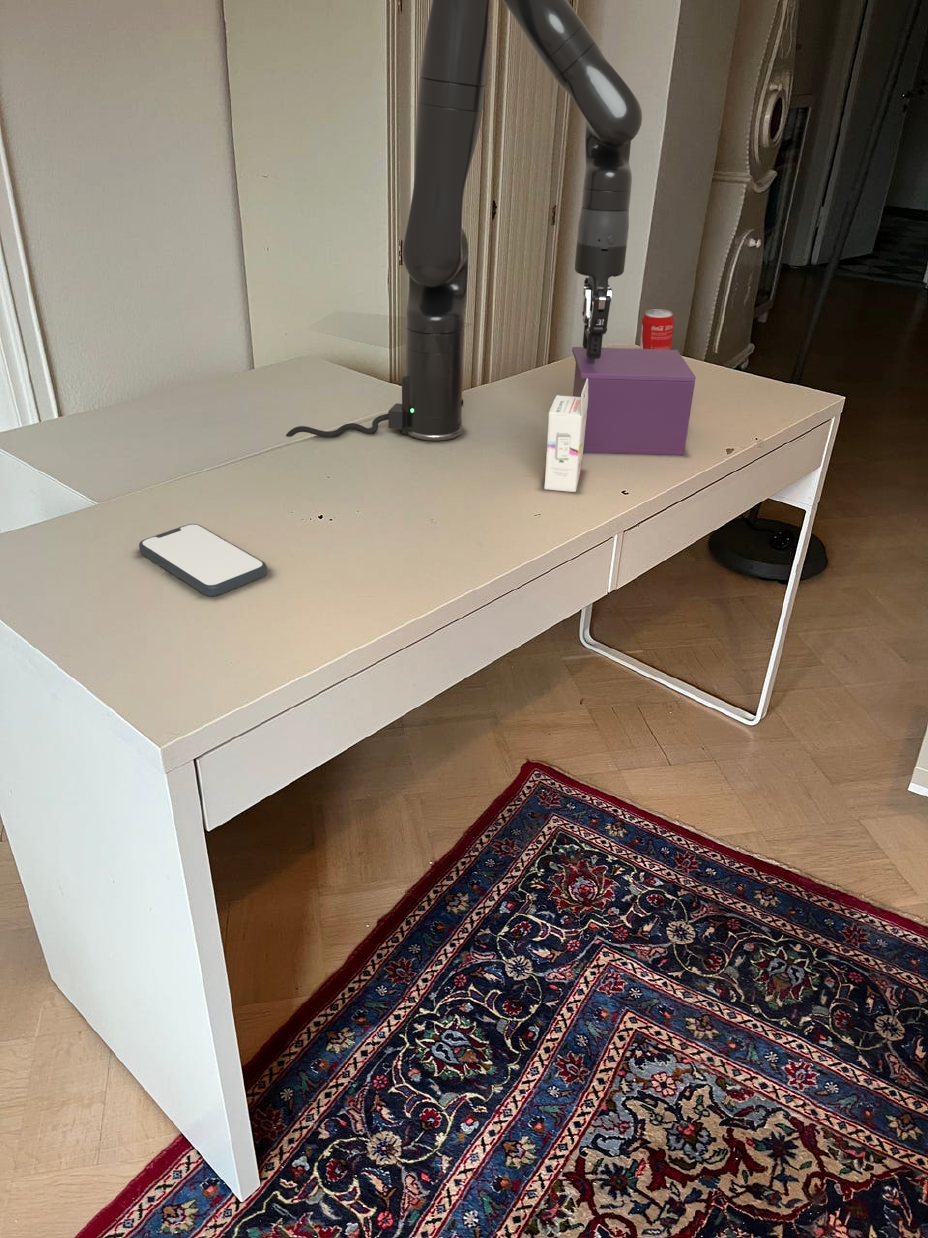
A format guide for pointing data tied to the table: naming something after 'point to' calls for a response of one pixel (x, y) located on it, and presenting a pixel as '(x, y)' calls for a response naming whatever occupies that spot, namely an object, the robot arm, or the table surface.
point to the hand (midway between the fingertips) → (591, 352)
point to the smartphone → (203, 559)
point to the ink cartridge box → (566, 441)
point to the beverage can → (657, 329)
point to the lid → (633, 364)
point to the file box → (636, 415)
